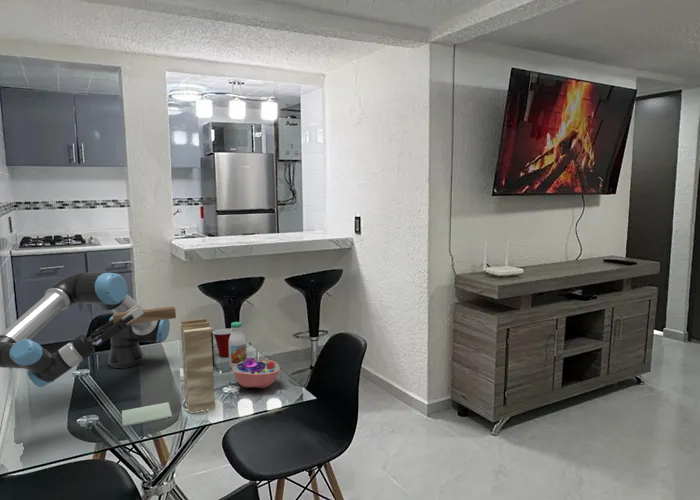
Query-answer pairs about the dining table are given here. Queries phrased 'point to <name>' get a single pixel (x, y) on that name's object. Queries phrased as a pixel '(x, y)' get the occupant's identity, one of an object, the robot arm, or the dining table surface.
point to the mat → (146, 414)
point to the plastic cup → (223, 341)
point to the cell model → (256, 373)
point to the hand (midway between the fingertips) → (140, 308)
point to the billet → (149, 315)
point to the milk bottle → (237, 345)
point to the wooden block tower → (197, 365)
